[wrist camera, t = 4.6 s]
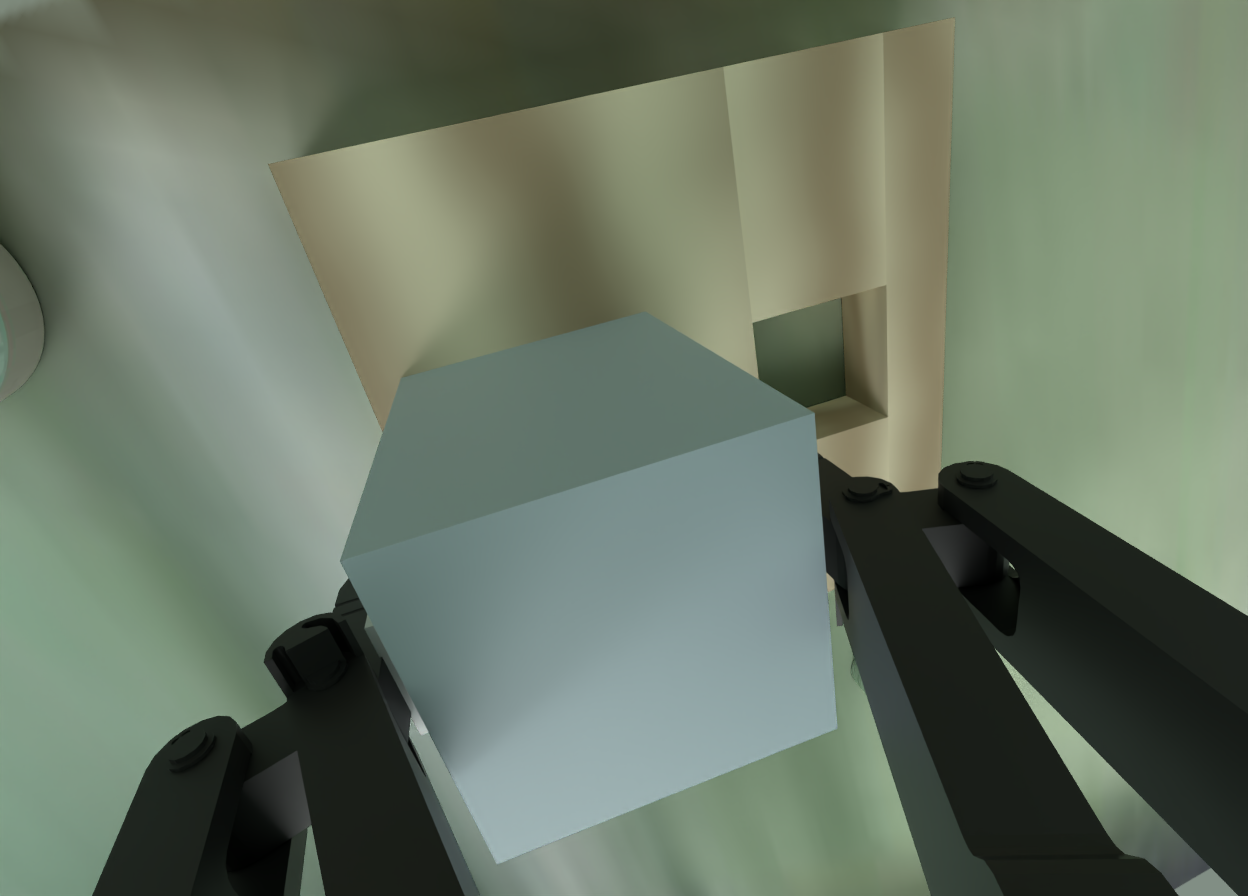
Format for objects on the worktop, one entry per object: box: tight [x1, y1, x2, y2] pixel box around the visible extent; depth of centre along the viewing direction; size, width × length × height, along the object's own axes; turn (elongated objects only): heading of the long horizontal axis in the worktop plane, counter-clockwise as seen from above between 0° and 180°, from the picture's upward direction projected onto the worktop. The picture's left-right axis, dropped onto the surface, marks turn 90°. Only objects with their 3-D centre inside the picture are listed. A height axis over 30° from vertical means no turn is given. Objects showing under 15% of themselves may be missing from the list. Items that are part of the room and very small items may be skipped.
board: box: [268, 17, 955, 592], centre depth 16 cm, size 18×18×10 cm
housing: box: [340, 312, 837, 864], centre depth 14 cm, size 7×7×9 cm
